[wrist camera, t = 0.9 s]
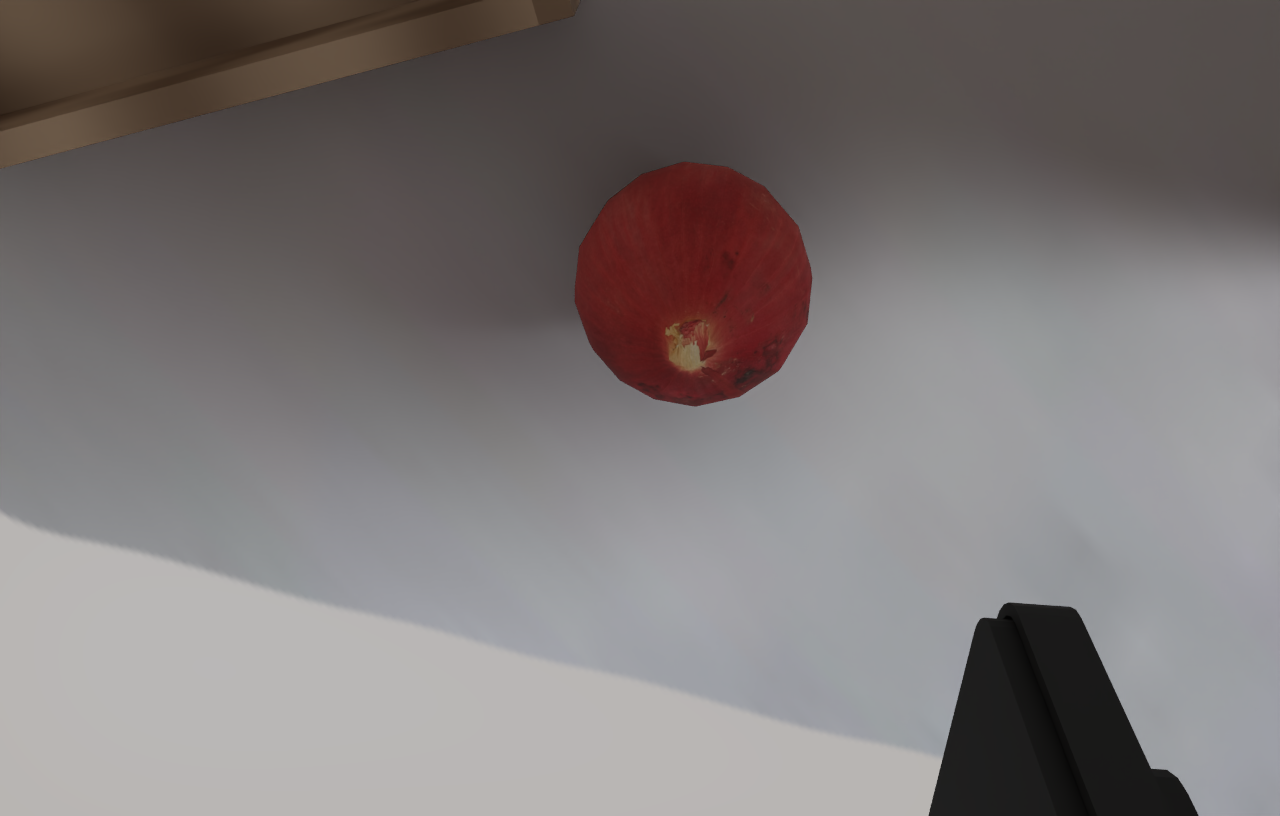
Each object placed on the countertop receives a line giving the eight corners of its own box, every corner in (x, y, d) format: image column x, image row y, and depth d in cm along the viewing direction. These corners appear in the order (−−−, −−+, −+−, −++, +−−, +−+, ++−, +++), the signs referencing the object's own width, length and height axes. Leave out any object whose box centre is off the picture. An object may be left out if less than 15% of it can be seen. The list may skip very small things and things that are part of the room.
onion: (841, 250, 33) (882, 384, 26) (676, 366, 35) (672, 520, 28) (711, 83, 31) (718, 179, 24) (543, 215, 33) (505, 341, 26)
